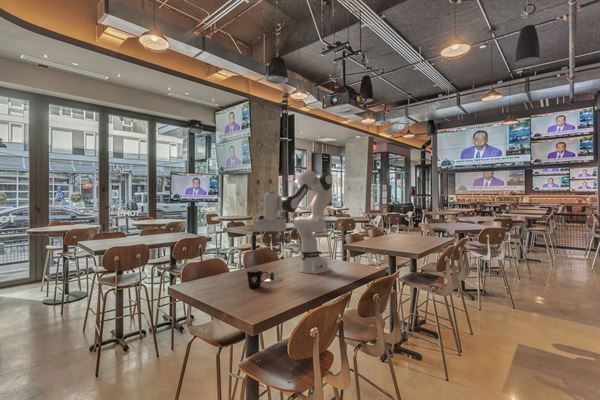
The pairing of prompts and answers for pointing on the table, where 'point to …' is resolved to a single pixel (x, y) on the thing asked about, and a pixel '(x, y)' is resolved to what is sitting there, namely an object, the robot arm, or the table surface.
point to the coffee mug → (255, 277)
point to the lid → (272, 278)
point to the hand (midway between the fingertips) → (270, 238)
